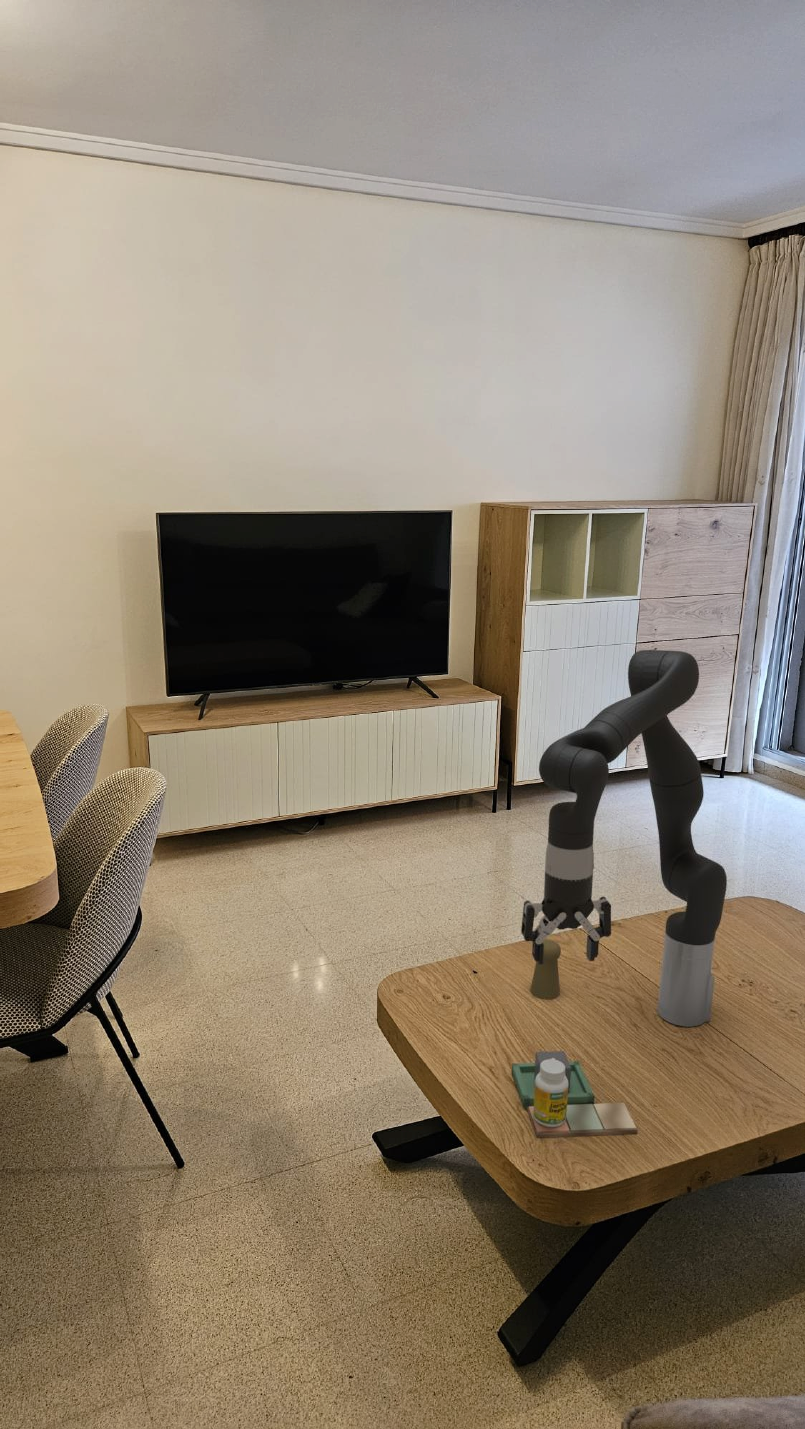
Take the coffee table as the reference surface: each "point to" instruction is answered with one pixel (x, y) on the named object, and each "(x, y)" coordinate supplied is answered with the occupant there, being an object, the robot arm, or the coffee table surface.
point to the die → (556, 1056)
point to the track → (589, 1121)
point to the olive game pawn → (547, 973)
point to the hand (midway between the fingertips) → (564, 960)
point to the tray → (526, 1084)
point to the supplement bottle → (551, 1094)
